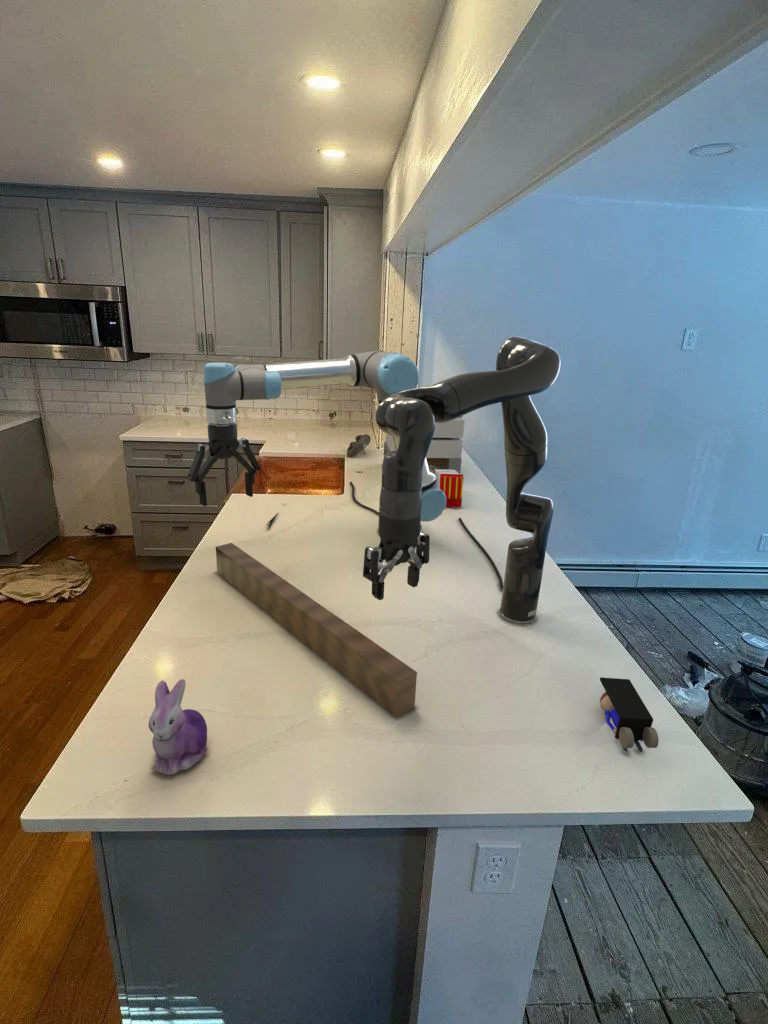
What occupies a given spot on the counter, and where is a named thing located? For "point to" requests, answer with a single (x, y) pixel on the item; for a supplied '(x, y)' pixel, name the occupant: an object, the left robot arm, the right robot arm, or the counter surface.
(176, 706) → the figurine
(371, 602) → the counter surface
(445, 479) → the red striped box
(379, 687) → the beam
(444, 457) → the transformer
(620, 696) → the figurine character
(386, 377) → the left robot arm
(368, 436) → the fossil
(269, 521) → the feather
